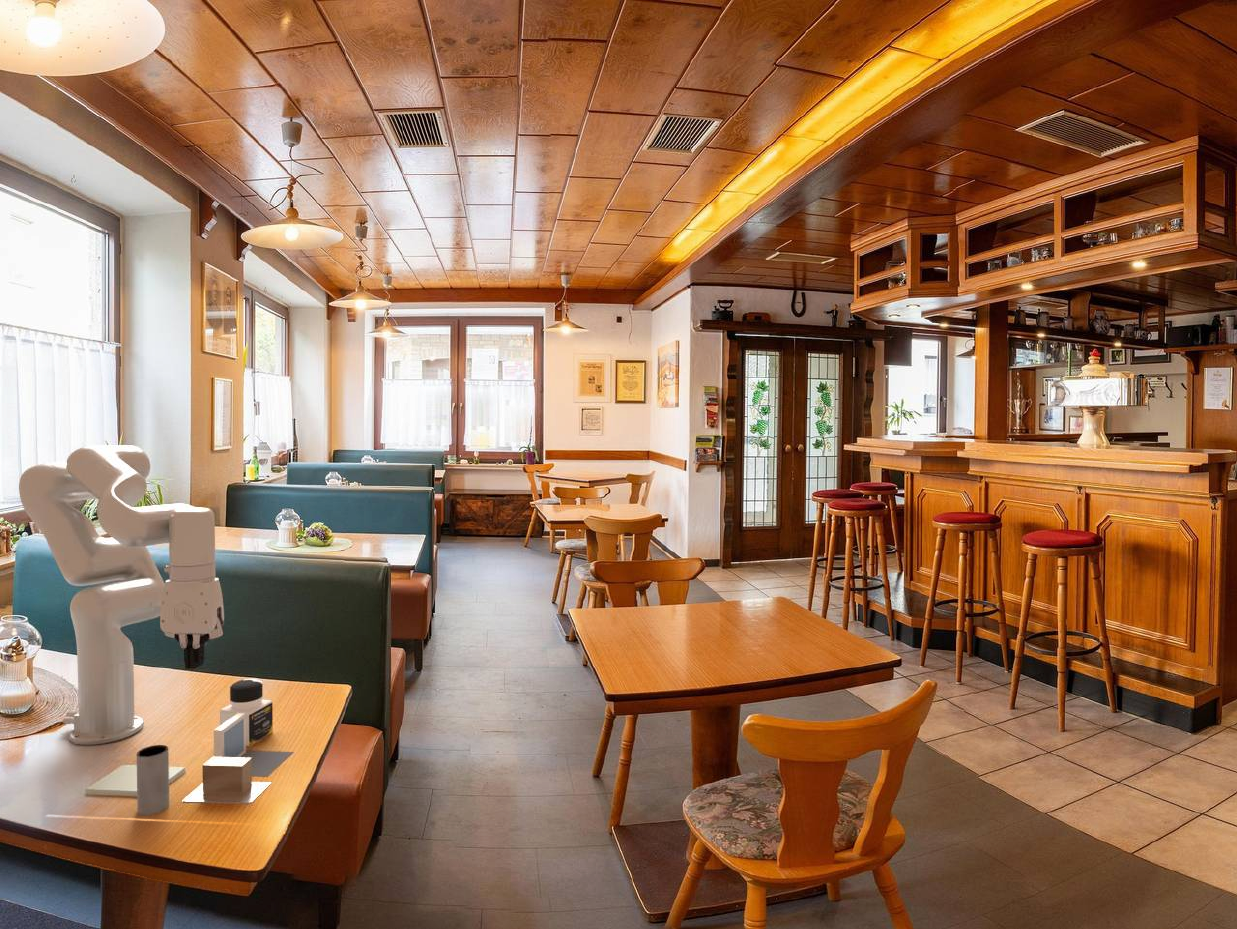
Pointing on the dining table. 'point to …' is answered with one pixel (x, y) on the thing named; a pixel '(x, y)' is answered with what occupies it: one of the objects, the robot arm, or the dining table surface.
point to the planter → (152, 779)
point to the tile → (231, 737)
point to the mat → (265, 761)
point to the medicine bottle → (250, 709)
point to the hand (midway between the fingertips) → (194, 666)
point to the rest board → (125, 781)
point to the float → (227, 782)
